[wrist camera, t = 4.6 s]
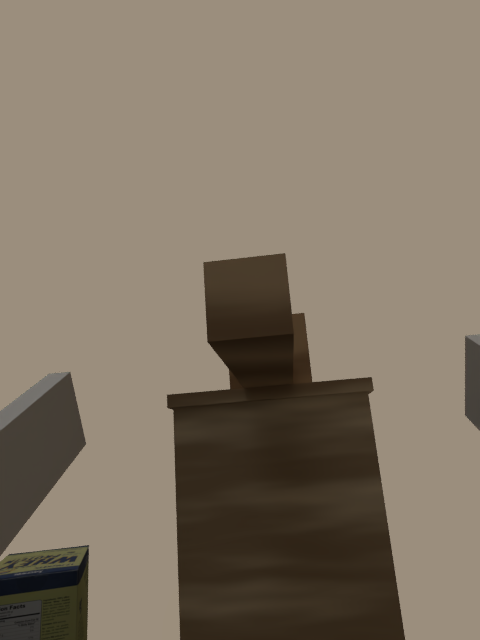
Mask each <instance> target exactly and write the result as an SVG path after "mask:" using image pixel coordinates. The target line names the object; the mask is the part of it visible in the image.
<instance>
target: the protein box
mask: <svg viewBox="0 0 480 640" xmlns="http://www.w3.org/2000/svg"><path fill="white" fill-rule="evenodd" d="M88 547H89V545H87V546H79V547H71V548H62V549H54V550H44V551H37V552H26V553H17V554H9V555H8V556H6V557H5V558H4V559H3V560H2V561H1V562H0V640H87V616H88V615H87V614H88V613H87V612H88V555H89V549H88Z"/></svg>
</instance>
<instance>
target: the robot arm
mask: <svg viewBox="0 0 480 640" xmlns="http://www.w3.org/2000/svg"><path fill="white" fill-rule="evenodd" d="M465 415H466V416H467V418H468V419H469V420H470V421H471V422H472V423H473V424H474V425H475V426H476V427H477V428H478V429H479V430H480V335H469V336H465ZM85 445H86V442H85V437H84V433H83V428H82V424H81V419H80V415H79V411H78V405H77V401H76V397H75V392H74V387H73V383H72V378H71V374H70V372H65V373H54V374H48V375H47V376H46V377H44V378H43V379H42V380H40V381H39V382H38V383H36V384H35V385H34V386H33V387H31V388H30V389H29V390H27V391H26V392H25V393H23V394H22V395H21V396H20V397H18V398H17V399H16V400H14V401H13V402H12V403H11V404H9V405H8V406H7V407H5V408H4V409H3V410H1V411H0V556H1V554H2V553H3V552H4V550H5V549H6V548H7V547H8V545H9V544H10V543H11V541H12V540H13V539H14V537H15V536H16V535H17V534H18V532H19V531H20V530H21V528H22V527H23V525H24V524H25V523H26V522H27V520H28V519H29V518H30V517H31V515H32V514H33V513H34V511H35V510H36V509H37V507H38V506H39V505H40V503H41V502H42V501H43V500H44V498H45V497H46V496H47V494H48V493H49V492H50V490H51V489H52V488H53V486H54V485H55V484H56V483H57V481H58V480H59V479H60V477H61V476H62V475H63V473H64V472H65V470H66V469H67V468H68V467H69V466H70V464H71V463H72V462H73V460H74V459H75V458H76V456H77V455H78V454H79V452H80V451H81V450H82V449H83V447H84V446H85Z"/></svg>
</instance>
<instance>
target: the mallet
mask: <svg viewBox="0 0 480 640" xmlns="http://www.w3.org/2000/svg"><path fill="white" fill-rule="evenodd" d="M204 283H205V301H206V320H207V339H208V343H209V344H210V345H211V347H212V348H213V349H214V351H215V352H216V353H217V354H218V356H219V357H220V358H221V359H222V361H223V362H224V363H225V364H226V366H227V367H228V368H229V375H230V389H241V388H253V387H264V386H276V385H287V384H299V383H311V382H312V376H311V367H310V359H309V350H308V341H307V333H306V324H305V316H304V313H299V314H292V312H291V303H290V294H289V284H288V275H287V267H286V257H285V253H284V254H275V255H266V256H257V257H248V258H239V259H230V260H221V261H212V262H204Z"/></svg>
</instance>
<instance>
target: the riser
mask: <svg viewBox="0 0 480 640" xmlns="http://www.w3.org/2000/svg"><path fill="white" fill-rule="evenodd" d="M373 390H374V389H373V383H372V378H371V377H368V378H357V379H346V380H334V381H322V382H311V383H299V384H287V385H276V386H264V387H253V388H241V389H230V390H218V391H206V392H195V393H184V394H172V395H167V405H168V406H167V407H168V408H170V409H173V410H174V443H175V478H176V509H177V510H176V511H177V542H178V543H177V545H178V577H179V578H178V579H179V609H180V610H179V612H180V640H405V636H404V629H403V623H402V617H401V609H400V603H399V596H398V590H397V583H396V576H395V570H394V563H393V556H392V550H391V544H390V536H389V530H388V523H387V516H386V510H385V503H384V496H383V490H382V483H381V477H380V470H379V463H378V456H377V450H376V443H375V436H374V430H373V423H372V417H371V410H370V403H369V397H368V394H369V393H371V392H372V391H373Z"/></svg>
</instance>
